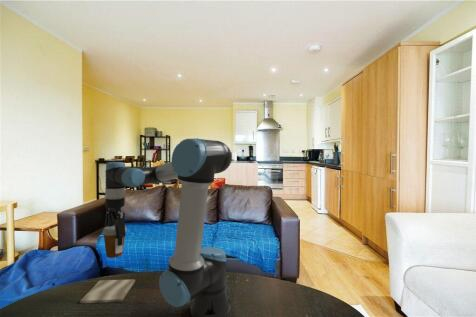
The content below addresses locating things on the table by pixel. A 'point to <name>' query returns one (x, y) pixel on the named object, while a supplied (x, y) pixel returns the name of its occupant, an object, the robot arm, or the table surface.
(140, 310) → the table surface
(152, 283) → the table surface
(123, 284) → the wooden board
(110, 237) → the disposable coffee cup
